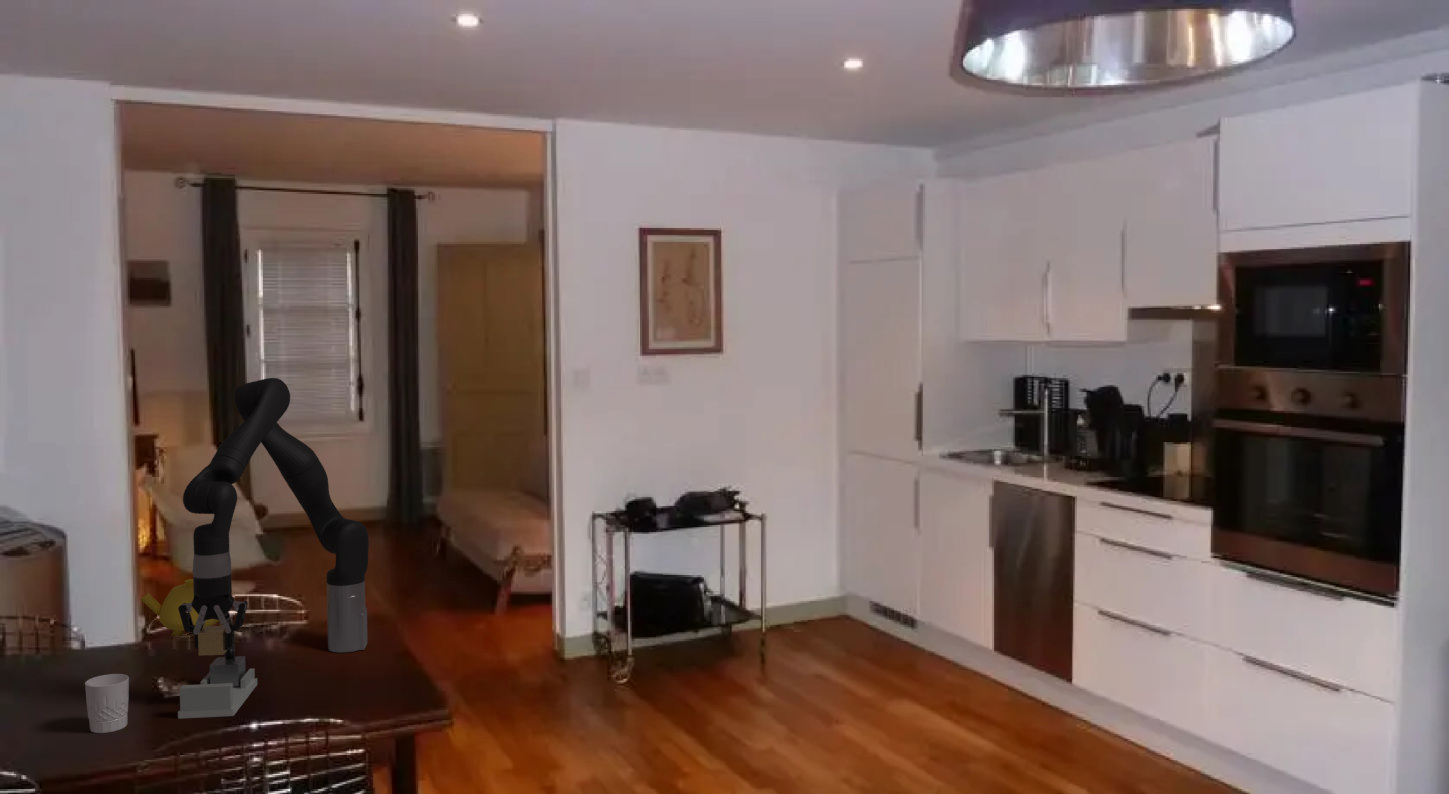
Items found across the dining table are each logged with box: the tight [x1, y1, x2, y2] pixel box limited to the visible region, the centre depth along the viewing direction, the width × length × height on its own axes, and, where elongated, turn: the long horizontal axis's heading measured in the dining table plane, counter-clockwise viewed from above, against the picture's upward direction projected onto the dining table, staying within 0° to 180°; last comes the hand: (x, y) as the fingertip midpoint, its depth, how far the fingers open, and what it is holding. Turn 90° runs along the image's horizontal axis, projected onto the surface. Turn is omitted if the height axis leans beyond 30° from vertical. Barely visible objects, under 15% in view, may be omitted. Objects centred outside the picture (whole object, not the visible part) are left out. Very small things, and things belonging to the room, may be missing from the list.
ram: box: [209, 641, 247, 686], centre depth 248 cm, size 6×6×11 cm
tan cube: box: [197, 625, 227, 657], centre depth 238 cm, size 5×5×5 cm
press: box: [177, 668, 258, 720], centre depth 242 cm, size 21×11×6 cm, turn 9°
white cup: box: [84, 673, 130, 734], centre depth 226 cm, size 8×8×10 cm
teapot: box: [140, 578, 220, 637], centre depth 294 cm, size 20×16×14 cm
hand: (214, 649), depth 238 cm, fingers closed on tan cube, 5 cm apart
